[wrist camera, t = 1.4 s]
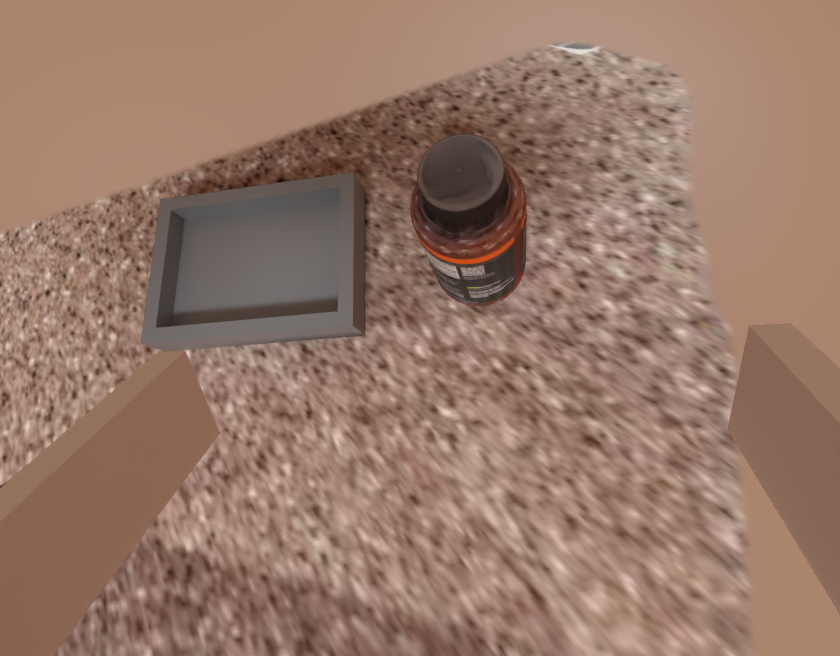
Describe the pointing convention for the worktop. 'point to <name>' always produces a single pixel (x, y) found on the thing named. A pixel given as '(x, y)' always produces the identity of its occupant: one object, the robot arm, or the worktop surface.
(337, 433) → the worktop surface
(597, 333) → the worktop surface
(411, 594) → the worktop surface
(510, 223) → the supplement bottle
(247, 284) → the tray
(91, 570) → the robot arm
